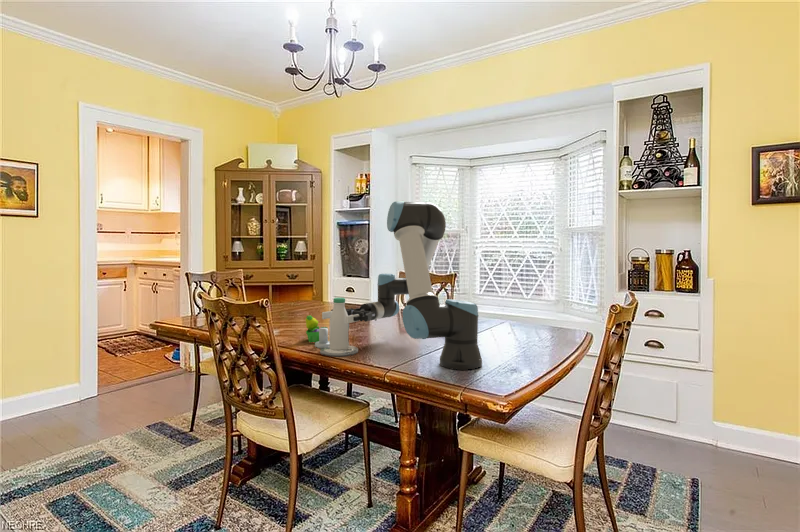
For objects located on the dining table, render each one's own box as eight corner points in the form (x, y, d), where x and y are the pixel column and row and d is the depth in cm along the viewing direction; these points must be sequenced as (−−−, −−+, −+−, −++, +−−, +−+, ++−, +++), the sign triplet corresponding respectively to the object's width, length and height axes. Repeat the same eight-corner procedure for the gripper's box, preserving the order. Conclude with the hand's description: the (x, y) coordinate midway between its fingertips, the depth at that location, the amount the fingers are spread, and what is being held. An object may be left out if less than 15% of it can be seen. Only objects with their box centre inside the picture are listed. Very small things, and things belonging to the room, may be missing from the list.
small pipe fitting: (334, 347, 188) (334, 329, 188) (318, 349, 185) (318, 330, 184) (328, 343, 194) (328, 326, 194) (312, 345, 191) (312, 327, 190)
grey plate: (364, 353, 178) (364, 350, 178) (328, 358, 170) (328, 354, 170) (348, 346, 191) (348, 342, 190) (314, 350, 183) (314, 346, 183)
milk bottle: (347, 350, 176) (347, 299, 175) (327, 350, 177) (327, 299, 175) (350, 345, 184) (350, 296, 183) (331, 345, 184) (331, 296, 183)
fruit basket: (323, 343, 195) (323, 317, 194) (302, 343, 195) (302, 317, 194) (328, 338, 206) (327, 313, 205) (308, 337, 206) (308, 313, 206)
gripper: (393, 323, 186) (357, 331, 170) (350, 316, 202) (313, 323, 186) (393, 305, 186) (357, 311, 169) (350, 300, 202) (313, 305, 185)
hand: (334, 317), depth 177 cm, fingers open, 13 cm apart
